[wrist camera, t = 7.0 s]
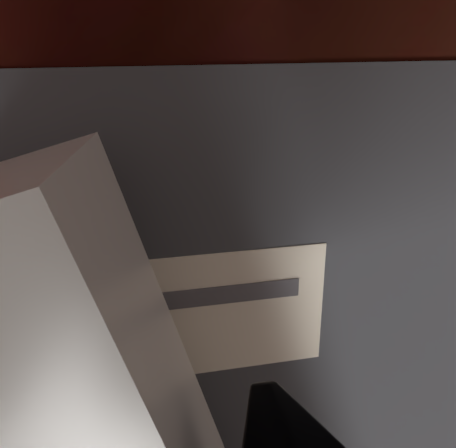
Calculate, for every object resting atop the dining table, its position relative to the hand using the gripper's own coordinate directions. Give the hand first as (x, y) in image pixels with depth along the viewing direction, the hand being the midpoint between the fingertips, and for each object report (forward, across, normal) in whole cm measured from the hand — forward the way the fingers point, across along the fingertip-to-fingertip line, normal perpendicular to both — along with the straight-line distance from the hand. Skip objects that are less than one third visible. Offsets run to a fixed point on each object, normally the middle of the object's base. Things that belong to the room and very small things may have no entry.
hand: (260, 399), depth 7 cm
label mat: (+3, -5, +1) cm, 6 cm away
